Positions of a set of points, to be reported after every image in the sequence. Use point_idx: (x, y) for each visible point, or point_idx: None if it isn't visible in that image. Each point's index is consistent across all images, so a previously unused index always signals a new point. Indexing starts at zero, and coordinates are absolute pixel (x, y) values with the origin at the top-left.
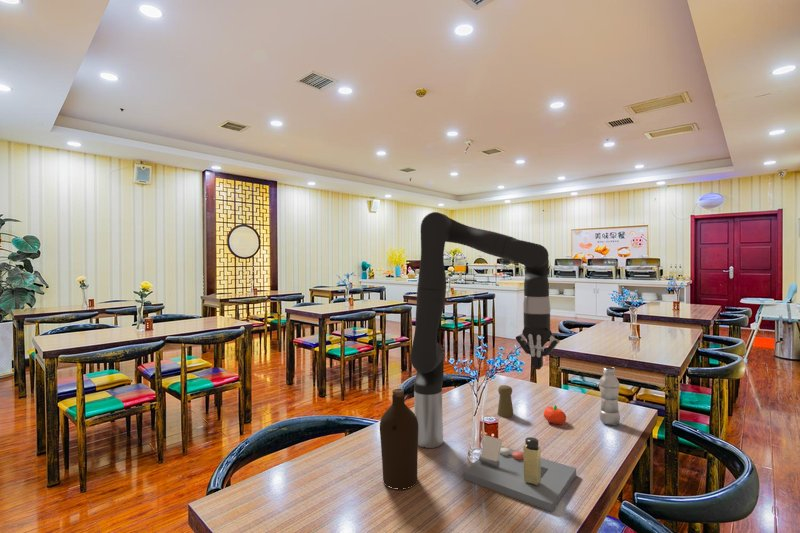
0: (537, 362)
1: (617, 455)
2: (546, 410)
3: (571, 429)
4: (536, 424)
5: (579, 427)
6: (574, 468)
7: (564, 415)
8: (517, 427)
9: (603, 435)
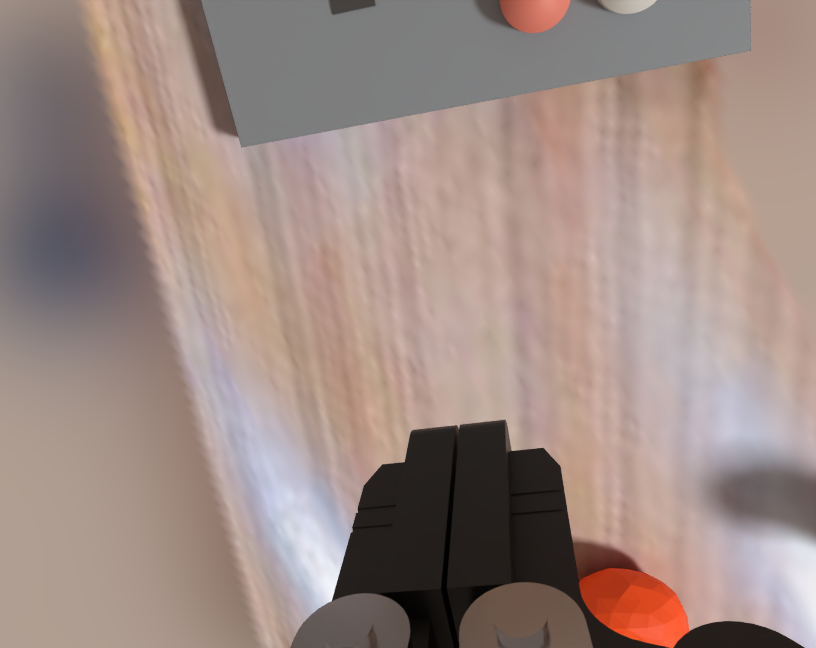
0: (413, 504)
1: (232, 454)
2: (667, 624)
3: None
4: (685, 516)
5: None
6: (244, 137)
7: None
8: (763, 419)
9: None
